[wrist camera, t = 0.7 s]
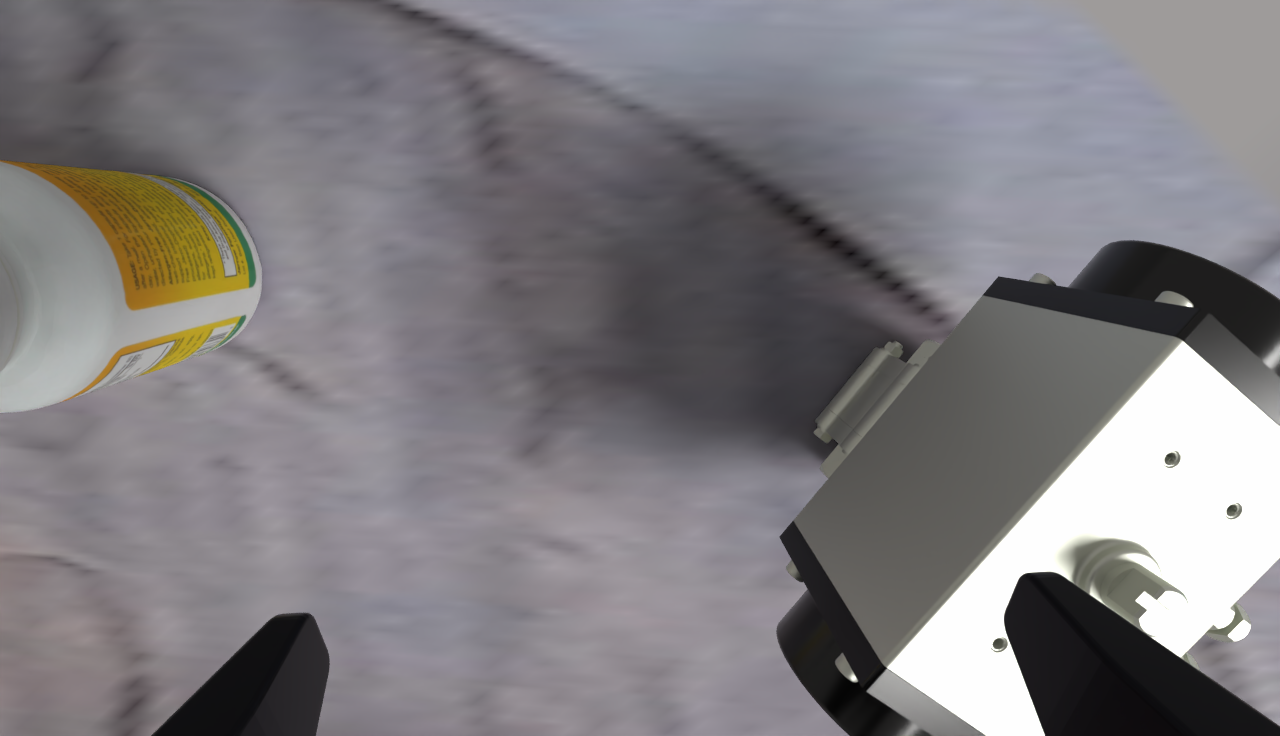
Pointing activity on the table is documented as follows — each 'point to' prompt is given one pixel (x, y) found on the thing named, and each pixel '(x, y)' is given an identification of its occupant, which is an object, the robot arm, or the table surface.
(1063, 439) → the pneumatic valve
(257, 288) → the supplement bottle
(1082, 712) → the robot arm
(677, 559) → the table surface
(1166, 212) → the table surface
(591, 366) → the table surface
